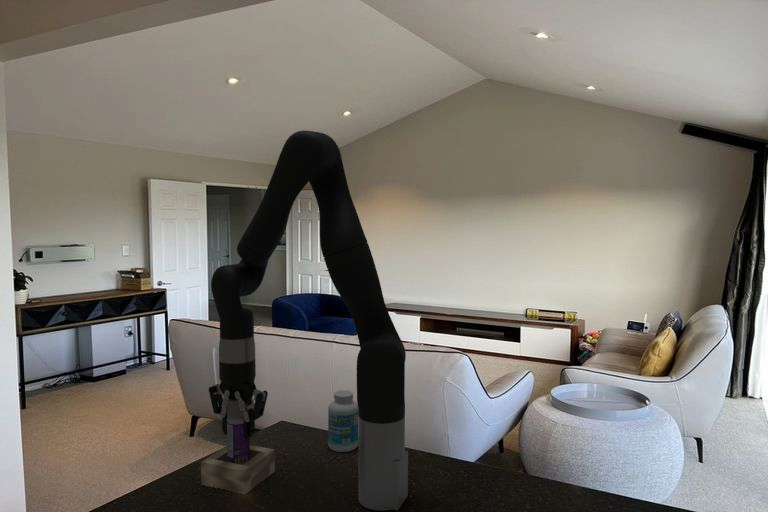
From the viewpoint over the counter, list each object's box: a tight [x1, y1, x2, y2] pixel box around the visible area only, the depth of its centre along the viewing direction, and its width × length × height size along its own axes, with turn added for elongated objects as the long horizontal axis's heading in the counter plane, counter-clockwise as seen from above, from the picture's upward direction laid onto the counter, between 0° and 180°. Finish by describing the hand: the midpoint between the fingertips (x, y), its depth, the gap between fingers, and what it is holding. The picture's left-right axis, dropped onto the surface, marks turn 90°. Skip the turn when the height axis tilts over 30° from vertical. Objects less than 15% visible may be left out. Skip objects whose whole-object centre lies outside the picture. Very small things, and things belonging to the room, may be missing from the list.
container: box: [226, 399, 251, 465], centre depth 117 cm, size 5×5×15 cm
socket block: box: [200, 444, 276, 495], centre depth 118 cm, size 11×11×5 cm
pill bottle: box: [327, 390, 359, 453], centre depth 134 cm, size 8×7×14 cm
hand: (238, 434), depth 117 cm, fingers closed on container, 4 cm apart
